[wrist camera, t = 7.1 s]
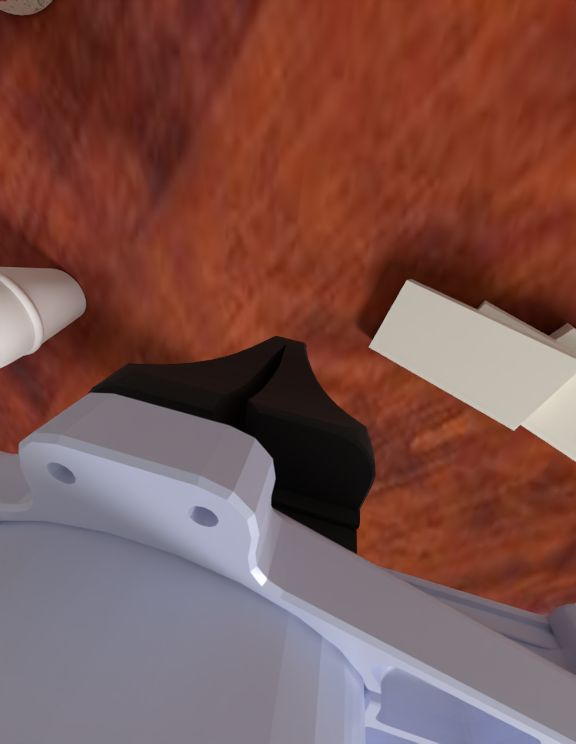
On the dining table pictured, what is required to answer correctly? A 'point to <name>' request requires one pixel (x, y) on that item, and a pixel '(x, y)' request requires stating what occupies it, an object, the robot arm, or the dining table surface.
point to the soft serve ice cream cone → (35, 308)
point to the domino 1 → (472, 354)
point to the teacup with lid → (23, 6)
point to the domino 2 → (562, 410)
